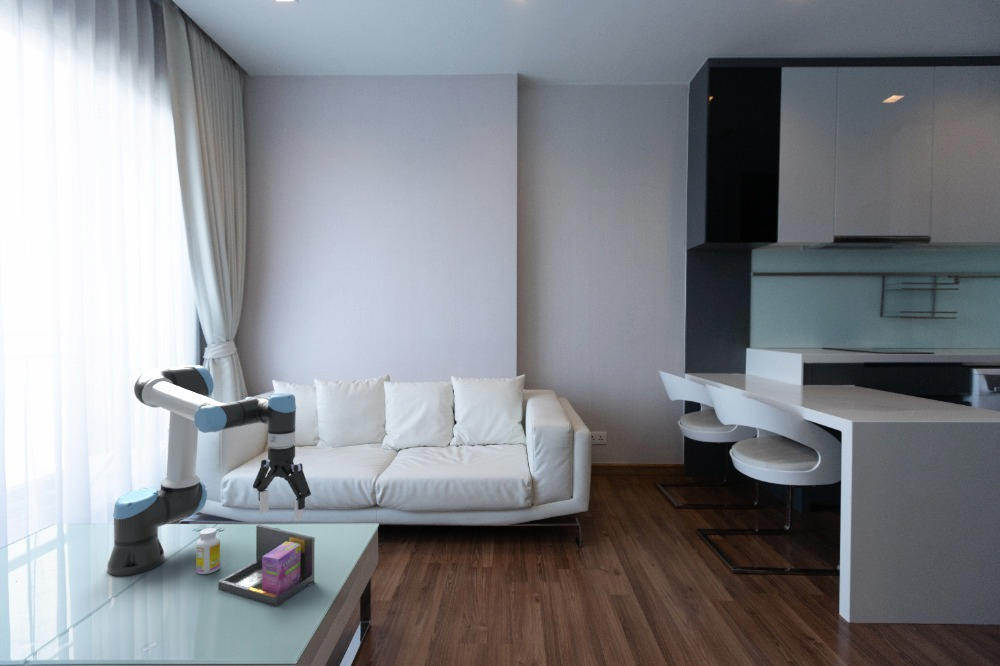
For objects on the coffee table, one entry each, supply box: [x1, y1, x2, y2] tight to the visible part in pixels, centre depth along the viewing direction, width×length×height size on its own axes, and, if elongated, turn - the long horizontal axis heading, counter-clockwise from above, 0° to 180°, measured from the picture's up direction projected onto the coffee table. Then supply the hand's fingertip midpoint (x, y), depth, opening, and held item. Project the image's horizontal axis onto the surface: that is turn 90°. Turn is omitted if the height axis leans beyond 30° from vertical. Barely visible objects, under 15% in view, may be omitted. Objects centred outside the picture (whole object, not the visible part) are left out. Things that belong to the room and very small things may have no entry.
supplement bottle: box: [195, 527, 221, 575], centre depth 164 cm, size 7×7×13 cm
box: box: [262, 541, 301, 595], centre depth 153 cm, size 10×6×12 cm, turn 164°
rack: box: [217, 524, 316, 608], centre depth 155 cm, size 23×15×14 cm, turn 68°
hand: (281, 515), depth 152 cm, fingers open, 13 cm apart
